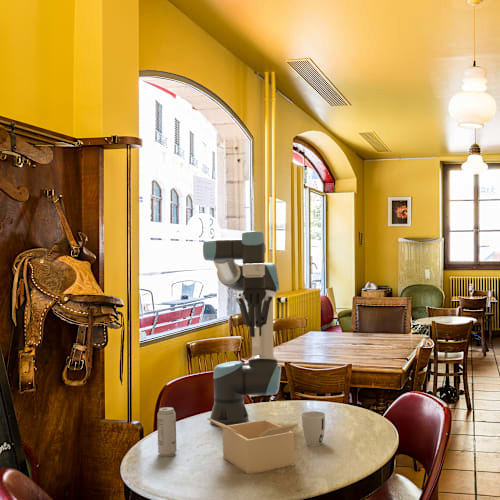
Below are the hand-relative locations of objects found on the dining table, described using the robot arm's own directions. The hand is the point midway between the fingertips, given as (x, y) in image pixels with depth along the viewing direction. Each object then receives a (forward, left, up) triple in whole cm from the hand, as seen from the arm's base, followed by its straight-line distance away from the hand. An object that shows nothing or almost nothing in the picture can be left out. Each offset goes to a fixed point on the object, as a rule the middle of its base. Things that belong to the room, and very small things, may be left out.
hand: (255, 346), depth 202 cm
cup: (+5, +19, -35) cm, 40 cm away
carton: (+11, -6, -34) cm, 37 cm away
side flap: (+9, -17, -22) cm, 29 cm away
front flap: (+23, -5, -22) cm, 32 cm away
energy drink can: (-11, -28, -35) cm, 46 cm away
